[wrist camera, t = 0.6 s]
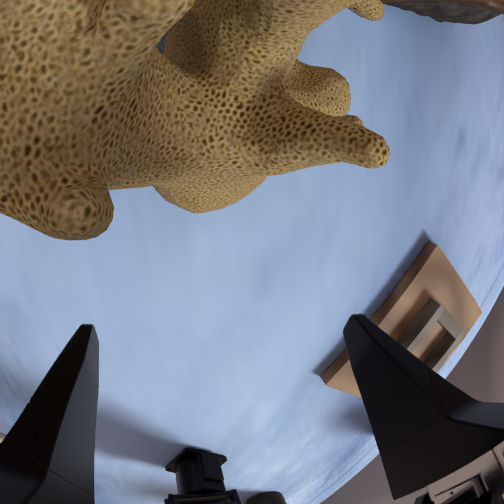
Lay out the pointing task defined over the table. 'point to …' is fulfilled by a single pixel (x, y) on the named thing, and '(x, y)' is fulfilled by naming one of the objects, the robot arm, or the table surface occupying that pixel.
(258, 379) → the table surface
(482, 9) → the brown carved rock
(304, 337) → the table surface
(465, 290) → the brown flat square board
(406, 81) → the table surface
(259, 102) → the decorative coral
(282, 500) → the travel mug
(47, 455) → the robot arm
